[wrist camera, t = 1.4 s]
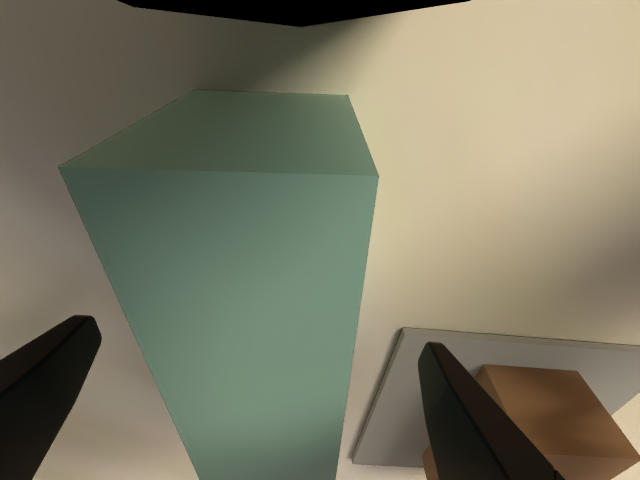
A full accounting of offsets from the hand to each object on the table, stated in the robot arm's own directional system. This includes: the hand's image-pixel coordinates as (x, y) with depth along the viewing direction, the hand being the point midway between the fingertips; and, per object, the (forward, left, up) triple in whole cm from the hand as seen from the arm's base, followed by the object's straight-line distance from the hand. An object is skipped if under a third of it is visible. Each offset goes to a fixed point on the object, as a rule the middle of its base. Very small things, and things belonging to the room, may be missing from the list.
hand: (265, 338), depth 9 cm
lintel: (0, 0, -4) cm, 5 cm away
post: (-13, +8, -4) cm, 16 cm away
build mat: (-13, +11, -4) cm, 18 cm away
